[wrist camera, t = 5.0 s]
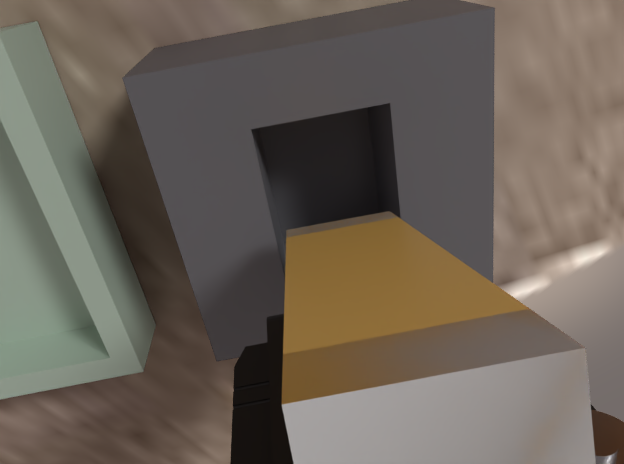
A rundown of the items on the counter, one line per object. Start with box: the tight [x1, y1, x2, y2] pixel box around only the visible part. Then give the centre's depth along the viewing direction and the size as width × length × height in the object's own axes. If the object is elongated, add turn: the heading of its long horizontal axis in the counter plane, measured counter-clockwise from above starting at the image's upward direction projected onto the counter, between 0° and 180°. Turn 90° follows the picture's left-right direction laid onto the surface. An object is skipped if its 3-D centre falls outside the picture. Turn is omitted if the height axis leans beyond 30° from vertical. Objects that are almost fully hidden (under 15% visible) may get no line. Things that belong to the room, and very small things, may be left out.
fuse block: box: [123, 0, 495, 361], centre depth 18 cm, size 10×10×5 cm
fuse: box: [282, 211, 596, 464], centre depth 10 cm, size 3×5×10 cm, turn 9°
